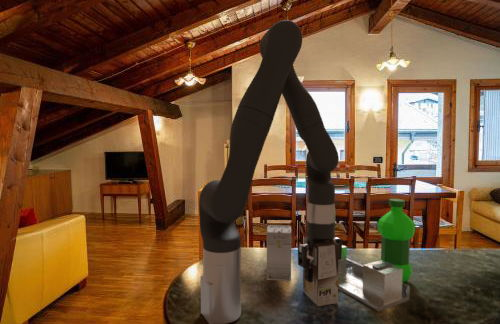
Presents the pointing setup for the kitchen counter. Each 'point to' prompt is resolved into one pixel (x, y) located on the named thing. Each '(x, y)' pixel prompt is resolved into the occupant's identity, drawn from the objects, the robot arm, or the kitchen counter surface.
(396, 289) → the plate
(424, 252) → the kitchen counter surface
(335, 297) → the coffee box
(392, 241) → the plastic bottle
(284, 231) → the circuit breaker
